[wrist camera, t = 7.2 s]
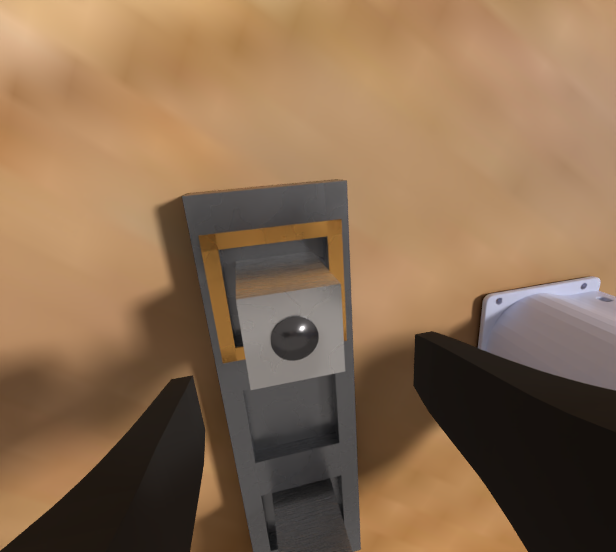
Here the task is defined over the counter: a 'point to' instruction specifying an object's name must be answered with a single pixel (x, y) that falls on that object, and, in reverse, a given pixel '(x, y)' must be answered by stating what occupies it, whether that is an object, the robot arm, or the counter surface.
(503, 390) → the robot arm
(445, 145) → the counter surface
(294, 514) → the nut
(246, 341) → the drawer with knob
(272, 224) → the rail
